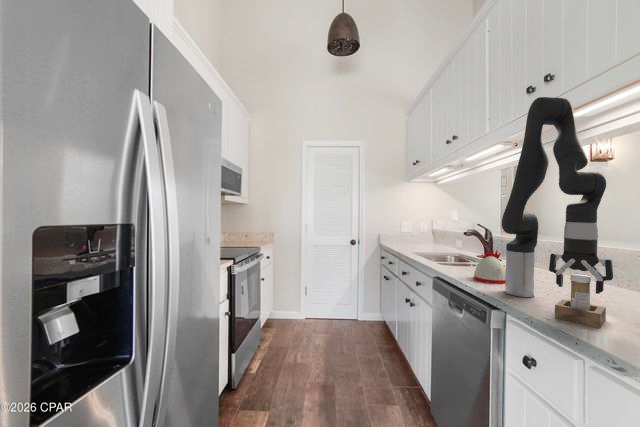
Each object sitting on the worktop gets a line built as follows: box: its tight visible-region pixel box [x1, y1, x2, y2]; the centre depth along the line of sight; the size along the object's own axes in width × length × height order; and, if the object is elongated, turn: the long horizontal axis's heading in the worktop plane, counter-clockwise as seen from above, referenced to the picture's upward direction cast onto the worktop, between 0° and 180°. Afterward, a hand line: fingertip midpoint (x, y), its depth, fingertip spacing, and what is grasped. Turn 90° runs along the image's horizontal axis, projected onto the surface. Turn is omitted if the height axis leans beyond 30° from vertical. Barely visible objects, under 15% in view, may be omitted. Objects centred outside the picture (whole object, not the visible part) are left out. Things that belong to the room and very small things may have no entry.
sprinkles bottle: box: [569, 273, 592, 310], centre depth 86 cm, size 5×5×14 cm
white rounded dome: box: [473, 249, 506, 285], centre depth 136 cm, size 14×14×15 cm
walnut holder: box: [554, 298, 607, 329], centre depth 86 cm, size 10×10×4 cm
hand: (578, 289), depth 86 cm, fingers open, 8 cm apart
